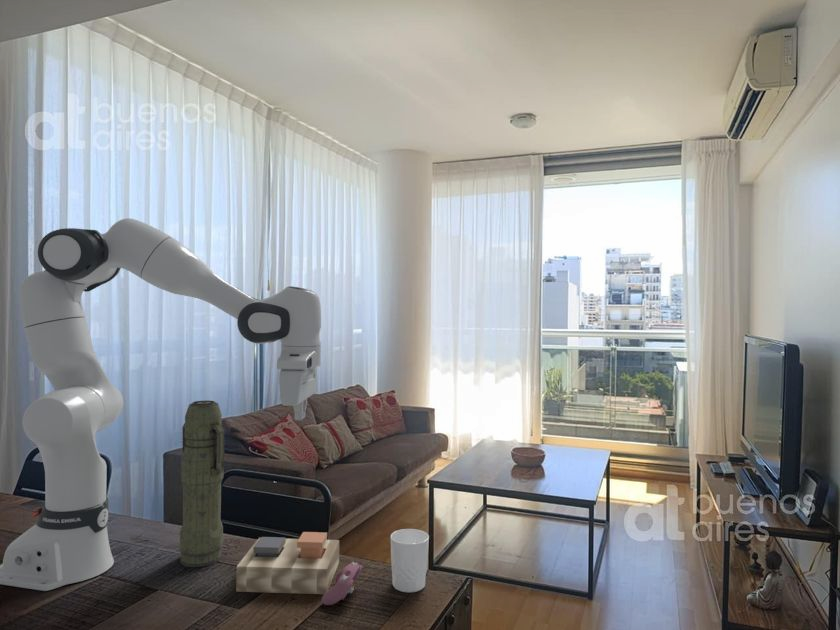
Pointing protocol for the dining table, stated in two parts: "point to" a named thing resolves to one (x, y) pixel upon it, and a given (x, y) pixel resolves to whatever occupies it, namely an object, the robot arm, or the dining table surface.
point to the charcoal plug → (269, 546)
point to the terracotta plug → (312, 544)
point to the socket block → (288, 570)
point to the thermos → (202, 485)
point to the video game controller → (342, 584)
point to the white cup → (409, 559)
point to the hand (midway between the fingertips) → (299, 419)
